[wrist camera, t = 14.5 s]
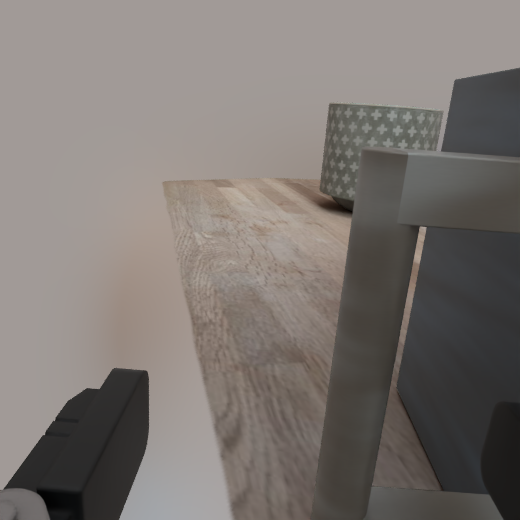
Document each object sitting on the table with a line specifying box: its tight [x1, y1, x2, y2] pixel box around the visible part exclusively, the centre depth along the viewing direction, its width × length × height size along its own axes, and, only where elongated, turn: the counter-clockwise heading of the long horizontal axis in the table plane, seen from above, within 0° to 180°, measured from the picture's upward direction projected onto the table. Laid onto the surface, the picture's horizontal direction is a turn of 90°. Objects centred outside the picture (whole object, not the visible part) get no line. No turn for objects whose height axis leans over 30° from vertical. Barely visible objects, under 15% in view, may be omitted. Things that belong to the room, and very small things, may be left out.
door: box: [311, 68, 520, 520], centre depth 18 cm, size 8×16×18 cm, turn 179°
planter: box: [320, 103, 443, 211], centre depth 81 cm, size 19×19×18 cm
